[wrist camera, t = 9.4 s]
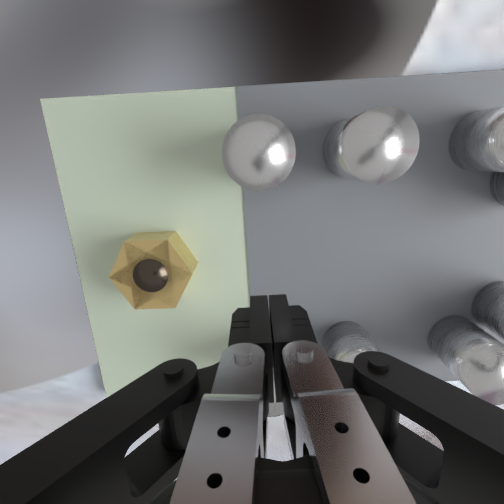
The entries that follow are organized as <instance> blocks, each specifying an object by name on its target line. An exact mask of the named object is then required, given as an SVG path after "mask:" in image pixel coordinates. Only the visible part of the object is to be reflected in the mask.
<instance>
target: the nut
mask: <svg viewBox="0 0 504 504" xmlns="http://www.w3.org/2000/svg"><path fill="white" fill-rule="evenodd" d="M197 264H198V261H197V260H196V258H195V257H194V255H193V254H192V253H191V251H190V250H189V248H188V247H187V246H186V244H185V243H184V241H183V240H182V239H181V237H180V236H179V234H178V233H177V232H176V231H164V232H139V233H136V234H134V235H133V236H131V237H130V238H128V239H127V240H125V241H124V243H123V245H122V247H121V250H120V252H119V254H118V257H117V259H116V261H115V264H114V266H113V268H112V271H111V273H110V275H109V278H110V280H111V281H112V282H113V283H114V285H115V286H116V287H117V288H118V290H119V291H120V292H121V293H122V294H123V296H124V297H125V298H126V299H127V301H128V302H129V303H130V304H131V306H132V307H133V308H134V309H135V310H139V309H164V308H176V306H177V304H178V302H179V300H180V298H181V296H182V294H183V292H184V290H185V288H186V286H187V284H188V282H189V280H190V278H191V276H192V274H193V272H194V270H195V268H196V266H197Z"/></svg>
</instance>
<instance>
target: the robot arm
mask: <svg viewBox="0 0 504 504" xmlns="http://www.w3.org/2000/svg"><path fill="white" fill-rule="evenodd" d="M273 374H274V384H275V395H276V403H279V402H283V408H284V426H285V430H286V435H287V440H288V445H289V450H290V455H291V459H292V460H289V461H284V462H282V461H276V460H271V459H266V457H267V430H268V419H267V417H268V414H269V403H274V384H273ZM400 413H401V414H402V415H404V416H406V417H407V418H409V419H410V420H412V421H414V422H415V423H417V424H419V425H420V426H422V427H424V428H425V429H427V430H428V431H430V432H431V433H433V434H434V435H435V436H436V437H437V438H438V439H439V440H440V442H441V443H442V446H443V448H444V451H442V450H441V449H439V448H437V447H436V446H434V445H433V444H431V443H430V442H428V441H426V440H425V439H423V438H422V437H420V436H419V435H417V434H415V433H414V432H412V431H411V430H409V429H408V428H406V427H405V426H403V425H401V424H400V423H399V415H400ZM157 423H158V424H159V430H158V431H157V432H156V433H154V434H153V435H152V436H151V437H150V438H148V439H147V440H146V441H145V442H143V443H142V444H141V445H140V446H138V447H137V448H136V449H135V450H134V451H132V452H131V453H130V454H129V455H127V456H126V457H125V454H126V452H127V450H128V449H129V447H130V446H131V445H132V444H133V443H134V442H135V441H136V440H137V439H138V438H140V437H141V436H142V435H143V434H145V433H146V432H147V431H149V430H150V429H151V428H152V427H154V426H155V425H156V424H157ZM124 457H125V458H124ZM177 477H178V478H177ZM176 478H177V480H175V479H176ZM174 480H175V481H174ZM173 481H174V482H173ZM0 504H504V410H503V409H501V408H499V407H497V406H495V405H493V404H491V403H489V402H487V401H485V400H483V399H480V398H478V397H476V396H474V395H472V394H470V393H468V392H466V391H464V390H462V389H460V388H458V387H455V386H453V385H451V384H449V383H447V382H445V381H443V380H441V379H439V378H437V377H435V376H433V375H431V374H428V373H426V372H424V371H422V370H420V369H418V368H416V367H414V366H412V365H410V364H408V363H406V362H403V361H401V360H399V359H397V358H395V357H393V356H391V355H389V354H386V353H383V352H377V351H366V352H362V353H360V354H358V355H357V356H356V357H355V358H354V363H350V362H344V361H339V360H335V359H333V358H330V357H328V355H327V353H326V351H325V349H324V348H323V347H322V346H321V345H319V344H318V343H317V340H316V337H315V334H314V331H313V328H312V325H311V322H310V319H309V317H308V314H307V311H306V310H305V309H304V308H302V307H301V306H300V305H291V306H289V305H288V300H287V296H286V294H278V295H269V307H268V297H267V295H257V296H250V307H247V308H237V309H236V311H235V312H234V313H233V314H232V319H231V327H230V334H229V342H228V348H226V349H225V350H224V351H223V353H222V355H221V358H220V361H219V362H218V363H216V364H214V365H211V366H208V367H205V368H201V369H197V366H196V364H195V363H194V362H193V361H191V360H188V359H183V358H178V359H171V360H168V361H165V362H163V363H161V364H159V365H158V366H156V367H155V368H153V369H151V370H150V371H148V372H147V373H145V374H144V375H142V376H140V377H139V378H137V379H136V380H134V381H132V382H131V383H129V384H128V385H126V386H125V387H123V388H121V389H120V390H118V391H117V392H115V393H113V394H112V395H110V396H109V397H107V398H106V399H104V400H102V401H101V402H99V403H98V404H96V405H94V406H93V407H91V408H90V409H88V410H87V411H85V412H83V413H82V414H80V415H79V416H77V417H75V418H74V419H72V420H71V421H69V422H68V423H66V424H64V425H63V426H61V427H60V428H58V429H56V430H55V431H53V432H52V433H50V434H49V435H47V436H45V437H44V438H42V439H41V440H39V441H37V442H36V443H34V444H33V445H31V446H30V447H28V448H26V449H25V450H23V451H22V452H20V453H18V454H17V455H15V456H14V457H12V458H11V459H9V460H7V461H6V462H4V463H3V464H1V465H0Z"/></svg>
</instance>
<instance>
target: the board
mask: <svg viewBox="0 0 504 504" xmlns="http://www.w3.org/2000/svg"><path fill="white" fill-rule="evenodd" d="M40 102H41V106H42V110H43V115H44V120H45V124H46V128H47V133H48V137H49V142H50V146H51V151H52V155H53V160H54V164H55V169H56V173H57V178H58V182H59V187H60V191H61V195H62V200H63V204H64V209H65V213H66V218H67V222H68V227H69V231H70V236H71V240H72V245H73V249H74V254H75V258H76V263H77V267H78V271H79V276H80V280H81V285H82V289H83V294H84V298H85V303H86V307H87V312H88V316H89V321H90V325H91V330H92V334H93V338H94V343H95V348H96V352H97V357H98V361H99V366H100V370H101V374H102V379H103V383H104V388H105V392H106V397H109V396H110V395H112V394H113V393H115V392H117V391H118V390H120V389H121V388H123V387H125V386H126V385H128V384H129V383H131V382H132V381H134V380H136V379H137V378H139V377H140V376H142V375H144V374H145V373H147V372H148V371H150V370H151V369H153V368H155V367H156V366H158V365H159V364H161V363H163V362H165V361H168V360H171V359H178V358H183V359H188V360H191V361H193V362H194V363H195V364H196V366H197V369H201V368H205V367H208V366H211V365H214V364H216V363H218V362H219V361H220V358H221V355H222V353H223V351H224V350H225V349H226V348H228V342H229V334H230V327H231V319H232V314H233V313H234V312H235V311H236V309H237V308H247V307H250V296H257V295H267V297H268V307H269V295H278V294H286V296H287V300H288V305H289V306H291V305H300V306H301V307H302V308H304V309H305V310H306V311H307V314H308V317H309V319H310V322H311V325H312V328H313V331H314V334H315V337H316V340H317V343H318V344H319V345H321V346H322V339H323V336H324V334H325V332H326V331H327V330H328V329H329V328H330V327H331V326H333V325H334V324H336V323H339V322H342V321H353V322H356V323H358V324H360V325H362V326H363V327H364V328H365V329H366V331H367V332H368V334H369V335H370V336H371V338H372V339H373V341H374V342H375V344H376V345H377V347H378V348H379V350H380V351H381V352H383V353H386V354H389V355H391V356H393V357H395V358H397V359H399V360H401V361H403V362H406V363H408V364H410V365H412V366H414V367H416V368H418V369H420V370H422V371H424V372H426V373H428V374H431V375H433V376H435V377H437V378H439V379H441V380H443V381H457V380H459V379H458V378H457V377H456V376H455V375H454V374H453V373H452V372H451V371H450V370H449V369H448V368H447V367H446V366H445V365H444V363H443V362H442V361H441V360H440V359H439V358H438V357H437V356H436V355H435V354H434V353H433V352H432V351H431V350H430V348H429V346H428V342H427V337H428V333H429V331H430V329H431V327H432V326H433V325H434V324H435V323H436V322H437V321H439V320H440V319H442V318H444V317H447V316H450V315H461V316H464V317H466V318H468V319H469V320H471V321H472V322H473V323H475V324H476V325H478V326H479V327H480V328H482V329H483V330H484V331H486V332H487V333H489V334H490V335H491V336H493V337H494V338H495V339H497V340H498V341H499V342H501V343H502V344H504V340H502V339H501V338H500V337H498V336H497V335H495V334H494V333H493V332H491V331H490V330H488V329H487V328H486V327H484V326H483V325H481V324H480V323H479V322H477V321H476V320H475V318H474V317H473V314H472V309H471V308H472V302H473V299H474V297H475V296H476V294H477V293H478V292H479V291H480V290H481V289H482V288H483V287H485V286H486V285H488V284H491V283H493V282H498V281H504V205H503V204H500V203H499V202H497V201H496V200H495V198H494V197H493V195H492V193H491V190H490V179H491V175H492V173H493V172H488V171H470V170H465V169H462V168H460V167H458V166H457V165H456V164H455V163H454V162H453V160H452V159H451V157H450V154H449V139H450V135H451V133H452V131H453V129H454V127H455V126H456V124H457V123H458V122H459V121H460V120H461V119H462V118H464V117H465V116H466V115H468V114H470V113H472V112H476V111H480V110H485V109H490V108H494V107H499V106H504V70H490V71H474V72H458V73H442V74H426V75H410V76H394V77H379V78H362V79H346V80H331V81H314V82H299V83H282V84H266V85H250V86H237V87H223V88H207V89H193V90H192V89H191V90H175V91H160V92H145V93H127V94H112V95H96V96H79V97H63V98H47V99H40ZM379 106H394V107H397V108H400V109H402V110H404V111H405V112H407V113H408V114H409V115H410V116H411V117H412V119H413V120H414V122H415V123H416V125H417V128H418V132H419V149H418V153H417V156H416V158H415V160H414V162H413V164H412V165H411V167H410V168H409V169H408V170H407V171H406V172H405V173H404V174H403V175H402V176H400V177H399V178H397V179H395V180H393V181H391V182H387V183H382V184H374V183H369V182H364V181H359V180H354V179H349V178H344V177H340V176H338V175H336V174H334V173H333V172H332V171H330V169H329V168H328V167H327V165H326V164H325V161H324V158H323V143H324V140H325V137H326V135H327V134H328V132H329V131H330V129H331V128H332V127H333V126H334V125H336V124H337V123H339V122H341V121H343V120H345V119H348V118H350V117H353V116H355V115H358V114H360V113H363V112H365V111H368V110H370V109H372V108H375V107H379ZM251 114H267V115H271V116H273V117H275V118H277V119H279V120H280V121H281V122H283V123H284V124H285V125H286V126H287V128H288V129H289V131H290V132H291V134H292V136H293V139H294V142H295V148H296V157H295V162H294V165H293V168H292V170H291V172H290V173H289V175H288V176H287V178H286V179H285V180H284V181H283V182H282V183H280V184H279V185H277V186H276V187H274V188H271V189H268V190H263V191H254V190H249V189H246V188H244V187H242V186H240V185H238V184H237V183H236V182H235V181H234V180H233V179H232V178H231V177H230V176H229V174H228V173H227V171H226V169H225V166H224V163H223V159H222V145H223V141H224V138H225V136H226V134H227V132H228V130H229V129H230V128H231V126H232V125H233V124H234V123H235V122H237V121H238V120H239V119H241V118H243V117H245V116H247V115H251ZM164 231H176V232H177V233H178V234H179V236H180V237H181V239H182V240H183V241H184V243H185V244H186V246H187V247H188V248H189V250H190V251H191V253H192V254H193V255H194V257H195V258H196V260H197V261H198V264H197V266H196V268H195V270H194V272H193V274H192V276H191V278H190V280H189V282H188V284H187V286H186V288H185V290H184V292H183V294H182V296H181V298H180V300H179V302H178V304H177V306H176V308H164V309H139V310H135V309H134V308H133V307H132V306H131V304H130V303H129V302H128V301H127V299H126V298H125V297H124V296H123V294H122V293H121V292H120V291H119V290H118V288H117V287H116V286H115V285H114V283H113V282H112V281H111V280H110V278H109V275H110V273H111V271H112V268H113V266H114V264H115V261H116V259H117V257H118V254H119V252H120V250H121V247H122V245H123V243H124V241H125V240H127V239H128V238H130V237H131V236H133V235H134V234H136V233H139V232H164Z"/></svg>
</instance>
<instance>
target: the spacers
mask: <svg viewBox="0 0 504 504" xmlns="http://www.w3.org/2000/svg"><path fill="white" fill-rule="evenodd" d="M418 149H419V132H418V128H417V125H416V123H415V122H414V120H413V119H412V117H411V116H410V115H409V114H408V113H407V112H405V111H404V110H402V109H400V108H397V107H394V106H379V107H375V108H372V109H370V110H368V111H365V112H363V113H360V114H358V115H355V116H353V117H350V118H348V119H345V120H343V121H341V122H339V123H337V124H336V125H334V126H333V127H332V128H331V129H330V131H329V132H328V134H327V135H326V137H325V140H324V143H323V158H324V161H325V164H326V165H327V167H328V168H329V169H330V171H332V172H333V173H334V174H336V175H338V176H340V177H344V178H349V179H354V180H359V181H364V182H369V183H374V184H382V183H387V182H391V181H393V180H395V179H397V178H399V177H400V176H402V175H403V174H404V173H405V172H406V171H407V170H408V169H409V168H410V167H411V165H412V164H413V162H414V160H415V158H416V156H417V153H418ZM449 154H450V157H451V159H452V160H453V162H454V163H455V164H456V165H457V166H458V167H460V168H462V169H465V170H470V171H488V172H493V173H492V175H491V179H490V190H491V193H492V195H493V197H494V198H495V200H496V201H497V202H499V203H500V204H503V205H504V106H499V107H494V108H490V109H485V110H480V111H476V112H472V113H470V114H468V115H466V116H465V117H464V118H462V119H461V120H460V121H459V122H458V123H457V124H456V126H455V127H454V129H453V131H452V133H451V135H450V139H449ZM295 157H296V148H295V142H294V139H293V136H292V134H291V132H290V131H289V129H288V128H287V126H286V125H285V124H284V123H283V122H281V121H280V120H279V119H277V118H275V117H273V116H271V115H267V114H251V115H247V116H245V117H243V118H241V119H239V120H238V121H237V122H235V123H234V124H233V125H232V126H231V128H230V129H229V130H228V132H227V134H226V136H225V138H224V141H223V145H222V159H223V163H224V166H225V169H226V171H227V173H228V174H229V176H230V177H231V178H232V179H233V180H234V181H235V182H236V183H237V184H238V185H240V186H242V187H244V188H246V189H249V190H254V191H263V190H268V189H271V188H274V187H276V186H277V185H279V184H280V183H282V182H283V181H284V180H285V179H286V178H287V176H288V175H289V173H290V172H291V170H292V168H293V165H294V162H295ZM471 309H472V314H473V317H474V318H475V320H476V321H477V322H479V323H480V324H481V325H483V326H484V327H486V328H487V329H488V330H490V331H491V332H493V333H494V334H495V335H497V336H498V337H500V338H501V339H502V340H504V281H498V282H493V283H491V284H488V285H486V286H485V287H483V288H482V289H481V290H480V291H479V292H478V293H477V294H476V296H475V297H474V299H473V302H472V308H471ZM427 342H428V346H429V348H430V350H431V351H432V352H433V353H434V354H435V355H436V356H437V357H438V358H439V359H440V360H441V361H442V362H443V363H444V365H445V366H446V367H447V368H448V369H449V370H450V371H451V372H452V373H453V374H454V375H455V376H456V377H457V378H458V379H459V380H460V381H461V382H462V384H463V385H464V386H465V387H466V388H467V389H468V390H469V391H470V392H471V393H472V394H473V395H474V396H476V397H478V398H480V399H483V400H485V401H487V402H489V403H491V404H493V405H501V404H504V344H502V343H501V342H499V341H498V340H497V339H495V338H494V337H493V336H491V335H490V334H489V333H487V332H486V331H484V330H483V329H482V328H480V327H479V326H478V325H476V324H475V323H473V322H472V321H471V320H469V319H468V318H466V317H464V316H461V315H450V316H447V317H444V318H442V319H440V320H439V321H437V322H436V323H435V324H434V325H433V326H432V327H431V329H430V331H429V333H428V337H427ZM322 347H323V348H324V349H325V351H326V353H327V355H328V357H330V358H333V359H335V360H339V361H344V362H350V363H354V358H355V357H356V356H357V355H358V354H360V353H362V352H366V351H377V352H381V351H380V350H379V348H378V347H377V345H376V344H375V342H374V341H373V339H372V338H371V336H370V335H369V334H368V332H367V331H366V329H365V328H364V327H363V326H362V325H360V324H358V323H356V322H353V321H342V322H339V323H336V324H334V325H333V326H331V327H330V328H329V329H328V330H327V331H326V332H325V334H324V336H323V339H322ZM273 384H274V374H273ZM283 414H284V408H283V402H279V403H276V395H275V384H274V403H269V414H268V417H276V416H280V415H283Z"/></svg>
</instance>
